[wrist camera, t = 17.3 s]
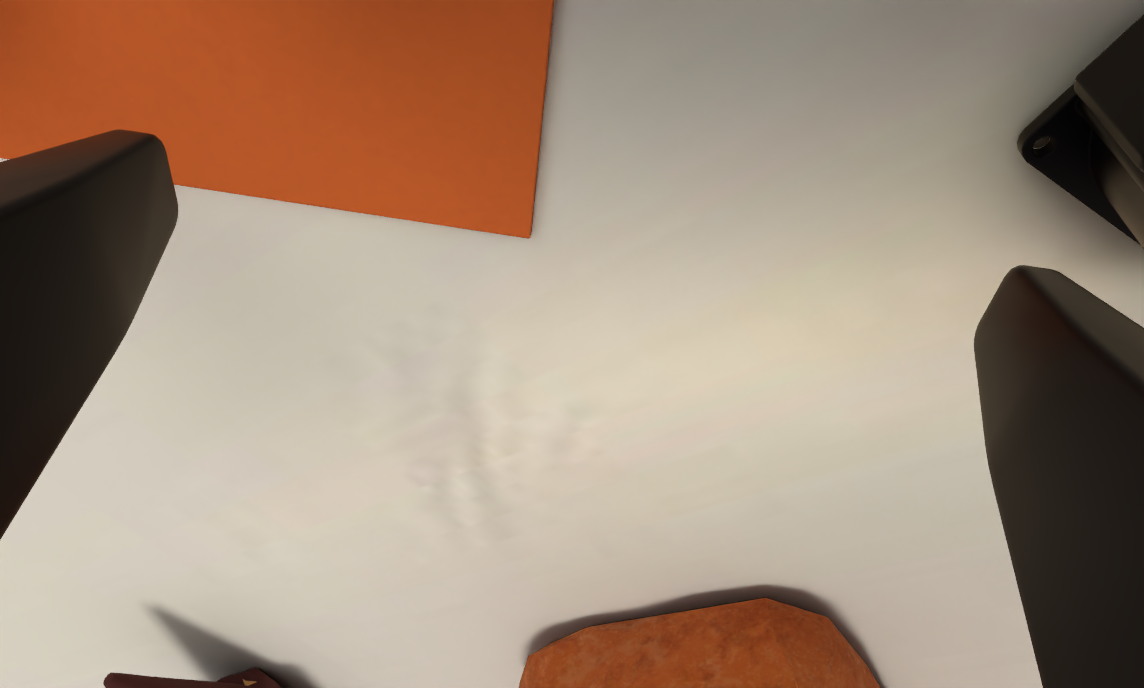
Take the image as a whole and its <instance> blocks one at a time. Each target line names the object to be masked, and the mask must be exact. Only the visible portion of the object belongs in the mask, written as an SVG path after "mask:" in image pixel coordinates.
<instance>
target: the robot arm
mask: <svg viewBox="0 0 1144 688" xmlns="http://www.w3.org/2000/svg"><path fill="white" fill-rule="evenodd" d="M1045 137H1049V138H1050V140H1049V141H1048V143H1047V144H1046V145H1045V146H1043V147H1041V148H1036V149H1034V148H1033V145H1034V144H1035V143H1036V141H1038V140H1040V139H1041V138H1045ZM1017 147H1018V150H1019V152H1020V153H1021V155H1022V157H1023V158H1024V159H1025V160H1026V162H1028V163H1029V164H1030V165H1032V166H1033V167H1034V168H1036V169H1037V170H1039V171H1040V172H1041V173H1043V174H1044V175H1045V176H1047V177H1048V178H1049V179H1051V180H1052V181H1054V182H1055V183H1056V184H1058V185H1059V186H1060V187H1062V188H1063V189H1065V190H1066V191H1067V192H1069V193H1070V194H1071V195H1073V196H1074V197H1075V198H1077V199H1078V200H1080V201H1081V202H1082V203H1084V204H1085V205H1086V206H1088V207H1089V208H1091V209H1092V210H1093V211H1095V212H1096V213H1097V214H1099V215H1100V216H1101V217H1103V218H1104V219H1106V220H1107V221H1108V222H1110V223H1111V224H1112V225H1114V226H1115V227H1117V228H1118V229H1119V230H1121V231H1122V232H1123V233H1125V234H1126V235H1127V236H1129V237H1130V238H1132V239H1133V240H1134V241H1136V242H1137V243H1138V244H1140V245H1141V246H1142V247H1143V248H1144V15H1143V16H1142V17H1141V18H1140V19H1138V20H1137V21H1136V22H1135V23H1134V24H1133V25H1132V26H1131V27H1130V28H1129V29H1128V30H1127V31H1125V32H1124V33H1123V34H1122V35H1121V36H1120V37H1119V38H1118V39H1117V40H1116V41H1115V42H1113V43H1112V44H1111V45H1110V46H1109V47H1108V48H1107V49H1106V50H1105V51H1104V52H1103V53H1101V54H1100V55H1099V56H1098V57H1097V58H1096V59H1095V60H1094V61H1093V62H1092V63H1091V64H1090V65H1088V66H1087V67H1086V68H1085V69H1084V70H1083V71H1082V72H1081V73H1080V74H1079V75H1078V76H1077V77H1076V81H1075V83H1074V84H1073V85H1072V86H1071V87H1070V88H1069V89H1068V90H1066V91H1065V92H1064V93H1063V94H1062V95H1061V96H1060V97H1059V98H1058V99H1057V100H1055V101H1054V102H1053V103H1052V104H1051V105H1050V106H1049V107H1048V108H1047V109H1046V110H1045V111H1043V112H1042V113H1041V114H1040V115H1039V116H1038V117H1037V118H1036V119H1035V120H1034V121H1033V122H1031V123H1030V124H1029V125H1028V126H1027V127H1026V128H1025V129H1024V130H1023V131H1022V133H1021V134H1020V135H1019V138H1018V141H1017ZM177 218H178V203H177V198H176V193H175V189H174V184H173V180H172V175H171V171H170V166H169V162H168V157H167V153H166V149H165V146H164V145H163V143H162V141H161V140H160V139H159V138H158V137H157V136H155V135H153V134H149V133H143V132H136V131H129V130H123V129H117V130H112V131H108V132H105V133H101V134H98V135H94V136H91V137H87V138H84V139H80V140H77V141H73V142H70V143H66V144H63V145H59V146H56V147H52V148H49V149H45V150H42V151H38V152H35V153H31V154H28V155H24V156H21V157H17V158H14V159H10V160H7V161H3V162H0V539H1V538H2V536H3V534H4V533H5V531H6V530H7V528H8V526H9V525H10V523H11V521H12V520H13V518H14V517H15V515H16V513H17V512H18V510H19V508H20V507H21V505H22V503H23V502H24V500H25V499H26V497H27V495H28V494H29V492H30V490H31V489H32V487H33V486H34V484H35V482H36V481H37V479H38V477H39V476H40V474H41V473H42V471H43V469H44V468H45V466H46V464H47V463H48V461H49V460H50V458H51V456H52V455H53V453H54V451H55V450H56V448H57V447H58V445H59V443H60V442H61V440H62V438H63V437H64V435H65V433H66V432H67V430H68V429H69V427H70V425H71V424H72V422H73V420H74V419H75V417H76V416H77V414H78V412H79V411H80V409H81V407H82V406H83V404H84V403H85V401H86V399H87V398H88V396H89V394H90V393H91V391H92V390H93V388H94V386H95V385H96V383H97V381H98V380H99V378H100V377H101V375H102V373H103V372H104V370H105V368H106V367H107V365H108V363H109V362H110V360H111V359H112V357H113V355H114V354H115V352H116V350H117V349H118V347H119V345H120V343H121V342H122V340H123V338H124V336H125V335H126V333H127V331H128V329H129V327H130V325H131V323H132V321H133V319H134V317H135V314H136V312H137V310H138V308H139V306H140V303H141V301H142V299H143V297H144V295H145V292H146V290H147V288H148V286H149V284H150V281H151V279H152V277H153V275H154V272H155V270H156V268H157V266H158V264H159V261H160V259H161V257H162V255H163V253H164V250H165V248H166V246H167V244H168V242H169V239H170V237H171V235H172V233H173V230H174V228H175V225H176V222H177ZM974 352H975V361H976V369H977V378H978V386H979V395H980V403H981V412H982V421H983V429H984V438H985V446H986V452H987V459H988V465H989V470H990V474H991V479H992V483H993V488H994V492H995V496H996V500H997V504H998V508H999V512H1000V516H1001V520H1002V524H1003V528H1004V532H1005V536H1006V540H1007V544H1008V548H1009V552H1010V556H1011V560H1012V564H1013V568H1014V572H1015V576H1016V580H1017V584H1018V588H1019V592H1020V597H1021V601H1022V605H1023V609H1024V613H1025V617H1026V621H1027V625H1028V629H1029V633H1030V637H1031V641H1032V645H1033V649H1034V653H1035V657H1036V661H1037V665H1038V669H1039V673H1040V677H1041V681H1042V685H1043V688H1144V328H1143V327H1142V326H1140V325H1138V324H1137V323H1135V322H1134V321H1132V320H1131V319H1129V318H1128V317H1126V316H1125V315H1123V314H1122V313H1120V312H1119V311H1117V310H1116V309H1114V308H1113V307H1111V306H1110V305H1108V304H1107V303H1105V302H1104V301H1102V300H1101V299H1099V298H1098V297H1096V296H1095V295H1093V294H1092V293H1090V292H1089V291H1087V290H1086V289H1084V288H1083V287H1081V286H1080V285H1078V284H1077V283H1075V282H1074V281H1072V280H1071V279H1069V278H1067V277H1066V276H1064V275H1063V274H1061V273H1060V272H1058V271H1055V270H1051V269H1045V268H1038V267H1032V266H1025V265H1019V266H1017V267H1015V268H1012V269H1011V270H1010V271H1009V272H1008V273H1007V274H1006V276H1005V277H1004V279H1003V281H1002V282H1001V284H1000V286H999V288H998V290H997V291H996V293H995V295H994V297H993V299H992V300H991V302H990V304H989V306H988V308H987V309H986V311H985V313H984V315H983V317H982V318H981V320H980V322H979V324H978V326H977V329H976V332H975V338H974Z"/></svg>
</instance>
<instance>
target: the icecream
mask: <svg viewBox="0 0 1144 688" xmlns="http://www.w3.org/2000/svg"><path fill="white" fill-rule="evenodd" d="M104 686H105V687H106V688H282V687H281V686H279V685H278V683H277V682H275V681H274V680H273V679H271V678H270V677H268V676H267V675H265V674H264V673H263V672H261V671H260V670H258V669H257V668H256V667H254V668H252V669H249V670H247V671H244V672H241V673H237V674H233V675H229V676H226V677H223V678H221V679H220V680H218V681H217V682H209V681H197V680H185V679H173V678H161V677H150V676H141V675H132V674H123V673H110V674H108V675H107V677H106V678H105V680H104Z"/></svg>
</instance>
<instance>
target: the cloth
mask: <svg viewBox="0 0 1144 688" xmlns="http://www.w3.org/2000/svg"><path fill="white" fill-rule="evenodd" d="M553 7H554V0H0V158H4V159H14V158H17V157H21V156H24V155H28V154H31V153H35V152H38V151H42V150H45V149H49V148H52V147H56V146H59V145H63V144H66V143H70V142H73V141H77V140H80V139H84V138H87V137H91V136H94V135H98V134H101V133H105V132H108V131H112V130H117V129H123V130H129V131H136V132H143V133H149V134H153V135H155V136H157V137H158V138H159V139H160V140H161V141H162V143H163V145H164V146H165V149H166V153H167V157H168V162H169V166H170V171H171V175H172V180H173V184H175V185H181V186H188V187H195V188H201V189H208V190H214V191H221V192H227V193H234V194H240V195H247V196H254V197H260V198H267V199H273V200H280V201H286V202H293V203H299V204H306V205H313V206H319V207H326V208H332V209H339V210H345V211H352V212H358V213H365V214H372V215H378V216H385V217H391V218H398V219H404V220H411V221H417V222H424V223H431V224H437V225H444V226H450V227H457V228H463V229H470V230H476V231H483V232H490V233H496V234H503V235H509V236H516V237H522V238H530V236H531V230H532V220H533V210H534V200H535V190H536V180H537V170H538V159H539V149H540V139H541V129H542V119H543V109H544V98H545V88H546V78H547V68H548V58H549V48H550V38H551V27H552V17H553Z"/></svg>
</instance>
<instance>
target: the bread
mask: <svg viewBox="0 0 1144 688" xmlns="http://www.w3.org/2000/svg"><path fill="white" fill-rule="evenodd" d="M519 688H880V686H879V685H878V683H877V682H876V680H875V678H874V677H873V675H872V673H871V672H870V670H869V668H868V667H867V665H866V663H865V662H864V661H863V660H862V658H861V657H860V656H859V655H858V653H857V652H856V651H855V650H854V649H853V647H852V646H851V645H850V644H849V643H848V641H847V640H846V639H845V638H844V636H843V635H842V634H841V633H840V632H839V630H838V629H837V628H836V627H835V626H834V624H833V623H832V622H831V621H830V619H829V618H828V617H825V616H822V615H819V614H816V613H813V612H809V611H806V610H803V609H800V608H797V607H794V606H790V605H787V604H784V603H781V602H778V601H774V600H771V599H768V598H761V599H755V600H749V601H743V602H737V603H731V604H725V605H719V606H713V607H707V608H701V609H695V610H689V611H683V612H677V613H670V614H664V615H658V616H652V617H646V618H640V619H634V620H628V621H621V622H615V623H609V624H603V625H597V626H591V627H586V628H584V629H582V630H579V631H577V632H575V633H573V634H570V635H568V636H566V637H563V638H561V639H559V640H557V641H554V642H552V643H551V644H549V645H547V646H545V647H544V648H542V649H540V650H538V651H536V652H535V653H533V654H531V655H529V656H528V659H527V662H526V665H525V668H524V671H523V674H522V677H521V680H520V685H519Z"/></svg>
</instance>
